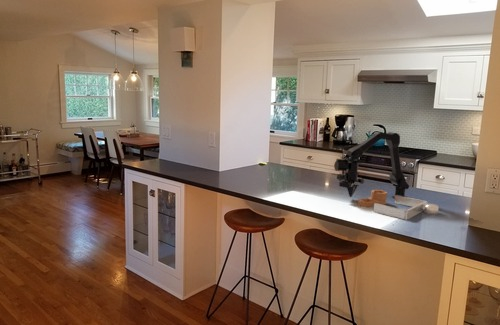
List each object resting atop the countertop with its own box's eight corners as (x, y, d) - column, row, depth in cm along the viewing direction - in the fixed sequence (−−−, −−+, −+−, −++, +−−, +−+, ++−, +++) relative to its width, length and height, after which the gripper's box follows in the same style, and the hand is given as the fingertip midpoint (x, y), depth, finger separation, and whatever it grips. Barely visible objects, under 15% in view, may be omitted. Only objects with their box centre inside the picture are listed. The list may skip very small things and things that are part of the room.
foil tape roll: (426, 210, 202) (427, 203, 201) (439, 212, 197) (440, 205, 197) (422, 212, 197) (423, 205, 196) (435, 215, 193) (436, 208, 192)
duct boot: (395, 202, 215) (395, 194, 214) (426, 209, 203) (427, 201, 202) (373, 211, 196) (374, 203, 195) (406, 219, 184) (407, 211, 183)
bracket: (377, 200, 218) (378, 189, 217) (389, 204, 211) (390, 192, 210) (354, 204, 210) (355, 192, 208) (365, 208, 202) (366, 196, 201)
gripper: (348, 166, 229) (346, 191, 232) (331, 170, 216) (329, 196, 218) (365, 169, 221) (363, 195, 224) (349, 173, 208) (347, 200, 211)
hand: (350, 196), depth 219 cm, fingers closed
